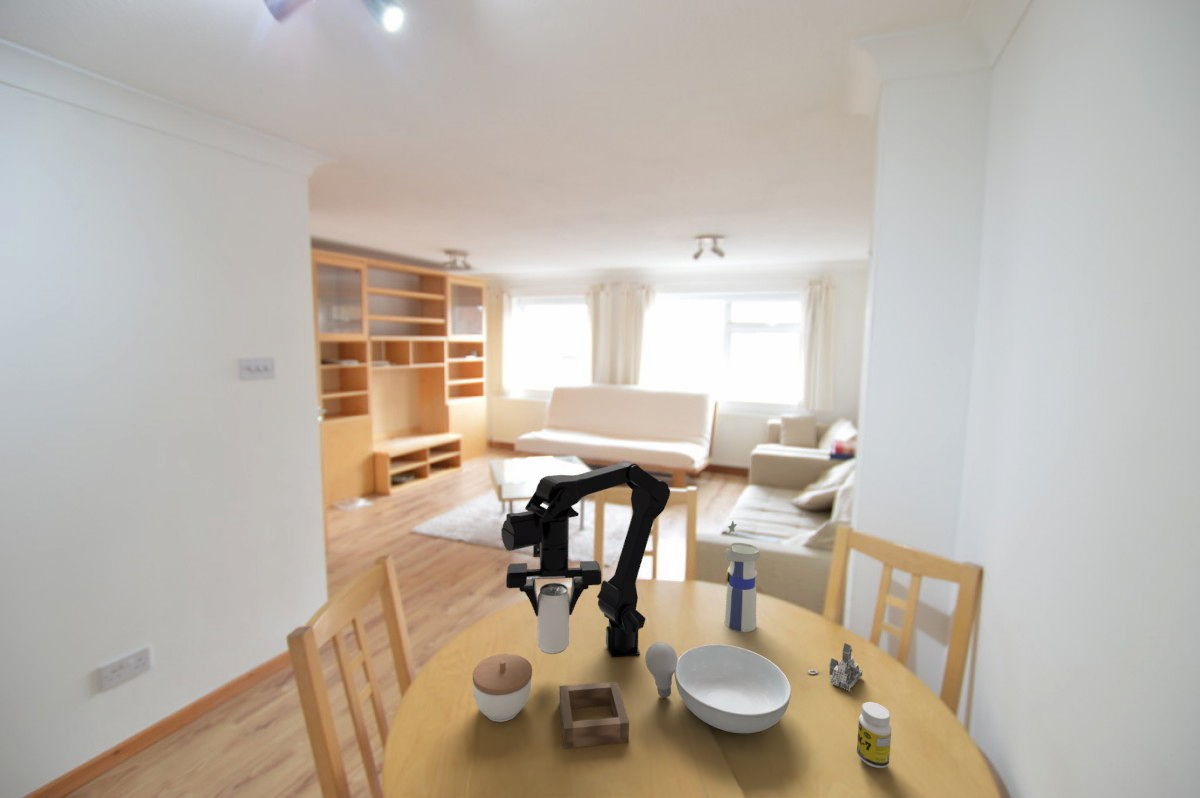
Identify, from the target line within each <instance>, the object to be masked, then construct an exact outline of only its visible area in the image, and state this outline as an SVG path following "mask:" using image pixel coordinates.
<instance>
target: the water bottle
mask: <svg viewBox="0 0 1200 798" xmlns="http://www.w3.org/2000/svg"><path fill="white" fill-rule="evenodd" d="M737 525H738V524H737V523H735V522H734V520H732V521H731V524H730V525H728V526H727V527H728V529H729V531H728V534H731V533H736V532H735V528H736V526H737ZM725 556H726V557H725V558H726V560H727V561H729V562H730V564H729V566H728V568H727V570H726V572H725V573H726V574H725V581H726V583H727V585H726V595H725V596H726V597H725V610H724V619H723V620H724V622H723V623H724V624H725V626H726V625H727V626H726V627H728V628H729V629H731V630H732V631H733V630H734V631H736V632H739V633H741V632H742V633H750V632H752V631H755V630H756V629H757V587H756V577H757V575H758V571H757V570H756V566H755V565H756V561H758V560H759V559H760V558H761V554H760V549H759V548H758V547H757V546H755V545H752V544H748V543H744V542H733V543H731V549H729V548H728V547H727V548H726V549H725Z"/></svg>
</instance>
